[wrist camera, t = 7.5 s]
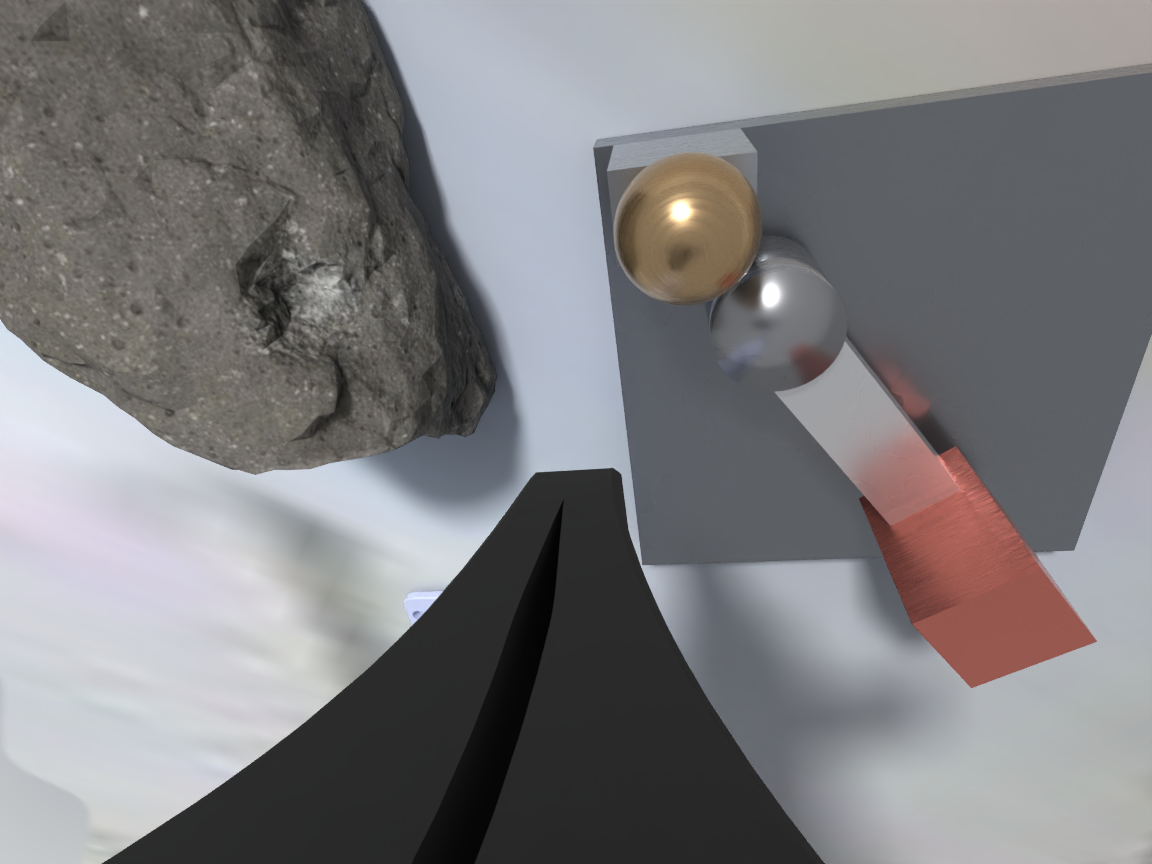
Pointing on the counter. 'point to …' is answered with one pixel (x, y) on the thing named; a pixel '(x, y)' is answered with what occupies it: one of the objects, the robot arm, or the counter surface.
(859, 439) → the lever
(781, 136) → the base
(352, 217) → the stone
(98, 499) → the counter surface
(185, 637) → the counter surface
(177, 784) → the counter surface
